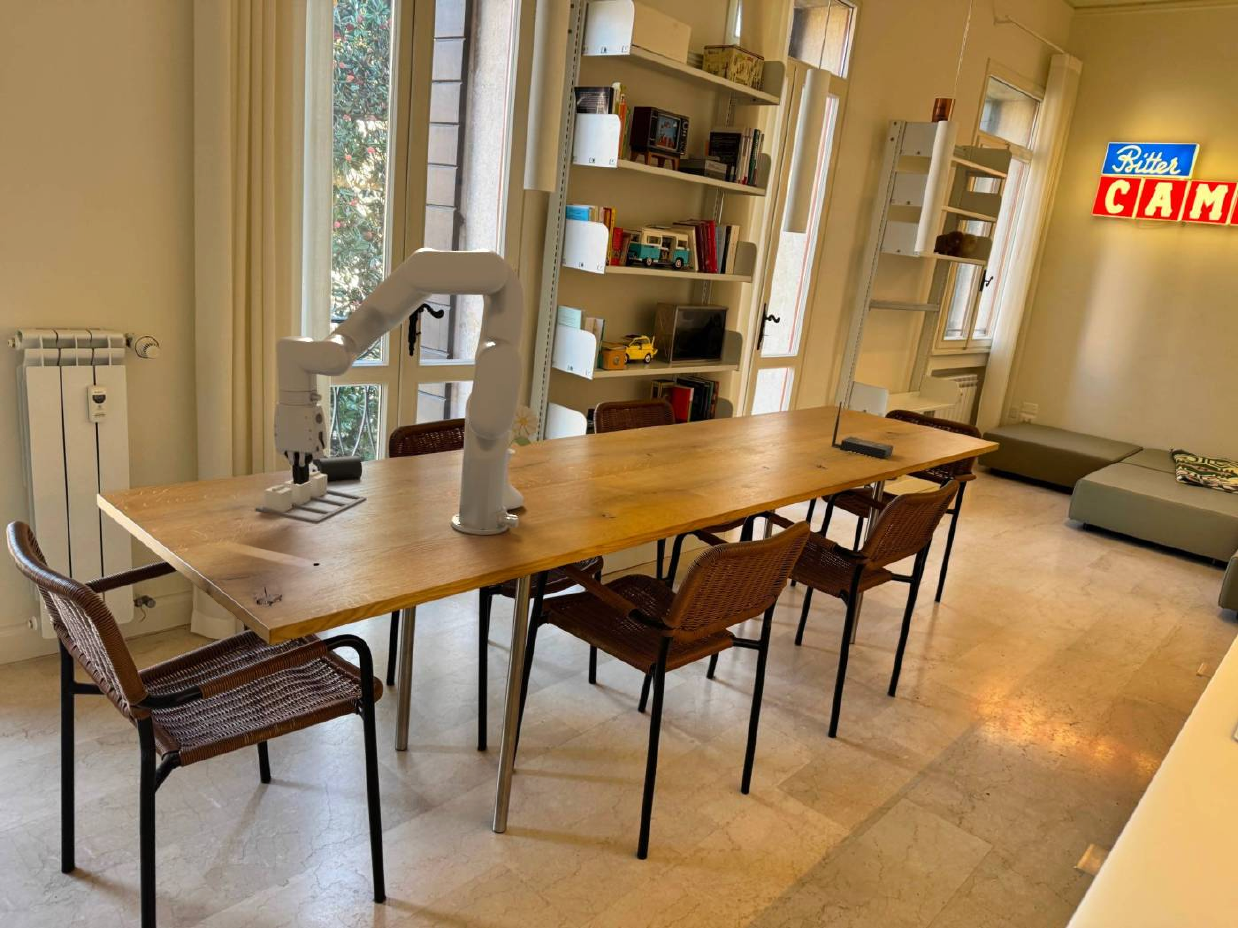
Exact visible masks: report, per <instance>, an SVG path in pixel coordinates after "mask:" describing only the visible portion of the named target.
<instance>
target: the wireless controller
mask: <svg viewBox="0 0 1238 928" xmlns="http://www.w3.org/2000/svg"><path fill="white" fill-rule="evenodd" d="M839 402H840V403H839V408H838V413H837V415H836V416H837V417H836V420H835V424H834V425H835V426H834V429H833V430H834V431H833V437H832V441H831V447H832V446H834V447H836V448H838V449H840V451H842V450H844V451H843V452H847V451H852V452H856V453H860V454H864V455H867V456H866V457H869V456H871V457H870V458H873V457H875V458H874V459H878V458H879V460H882V459H885V460H887V459H888V458H890V457H891V456H890V455H891V454H892V455H893V450H894V445H891V444H884V443H879V442H876V441H875V442H873V441H870V440H866V439H862V438H861V439H860V438H858V437H854V436H848V437H847V438H844V439H842V440H841V443H840V444H839V443H836V440H837V435H838V430H839V426H840V425H839V424H840V418H841V417H840V414H841V408H842V401H839ZM856 453H855V454H856ZM860 454H859V455H860ZM864 455H863V456H864ZM889 456H890V457H889ZM887 457H888V458H887Z"/></svg>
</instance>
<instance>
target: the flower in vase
mask: <svg viewBox="0 0 1238 928" xmlns="http://www.w3.org/2000/svg"><path fill="white" fill-rule="evenodd" d="M538 427H539V420H538V418H537V415H536V413H534V411H533V409H532V408H530V407H528V406H527V405H525V406H523V405H522V404H519V405H518V406H517V408H516V413H515V418H514V422H513V425H512V427H511V429H510V430H511V432H512V434H513V435H514V437H513V438H512V441H510V443H509V442H508V453H507V463H506V475H505V487H504V499H503V507H507V511H508V510H514V509H517V508H520V507H522V506H523V504H525V498H524V496H523V495H522V493H521V492H520V491H519V490H518V489H516V488H515V486H513V485H512V484H511V483H510V481H509V478H508V470H509V466H510V465H509V464H510V462H511V459H512V457H513V455H514V454H515V453H516V451H515V450H514V449H511V448H510V447H511V446H512V445H513V443H514V442H516V444H517V445H518V446H520V447H526V446H529V445H531V444H532V442H531V440H530V439H529V437H530V436H533V435H534V434H536V433H537V429H538Z"/></svg>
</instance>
